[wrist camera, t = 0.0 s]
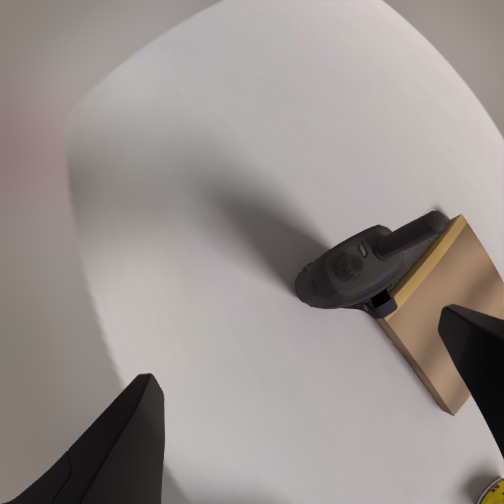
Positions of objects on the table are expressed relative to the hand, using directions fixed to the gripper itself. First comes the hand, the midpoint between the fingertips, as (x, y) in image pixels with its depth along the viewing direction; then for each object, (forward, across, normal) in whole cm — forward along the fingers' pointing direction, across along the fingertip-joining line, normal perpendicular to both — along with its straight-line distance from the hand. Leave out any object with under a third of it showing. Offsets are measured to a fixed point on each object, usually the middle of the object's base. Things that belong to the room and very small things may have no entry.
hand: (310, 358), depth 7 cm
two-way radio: (+14, -5, +6) cm, 16 cm away
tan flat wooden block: (+10, -17, +11) cm, 23 cm away
